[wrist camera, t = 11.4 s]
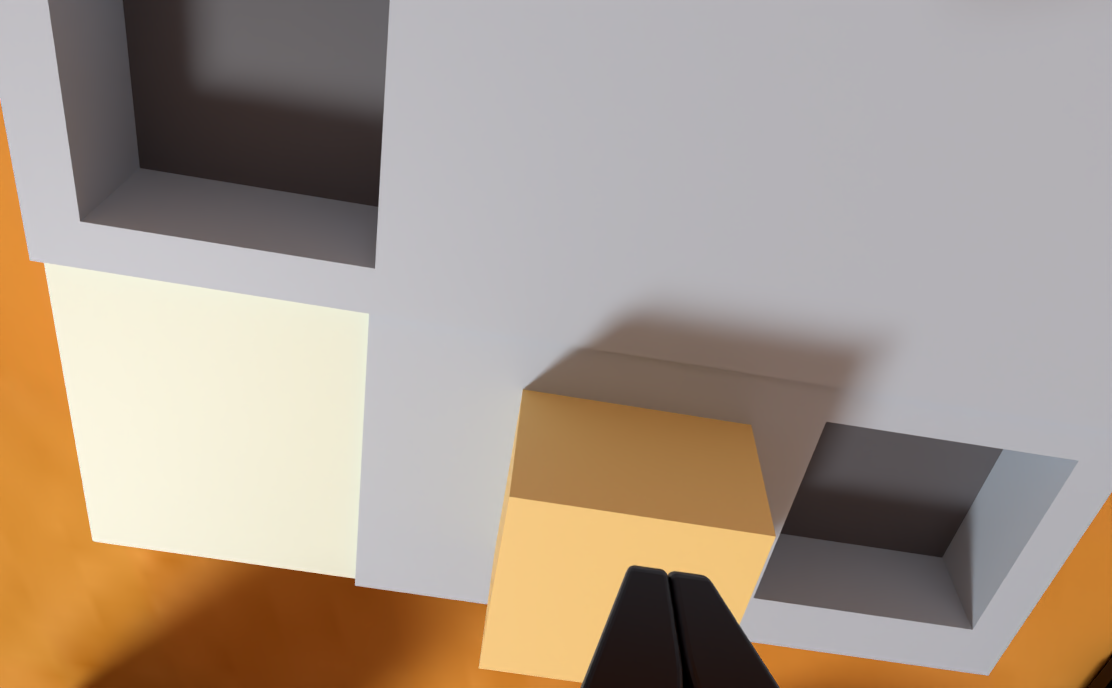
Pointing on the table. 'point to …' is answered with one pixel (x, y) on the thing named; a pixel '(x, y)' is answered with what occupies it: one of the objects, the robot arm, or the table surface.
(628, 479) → the ochre block
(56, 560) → the table surface
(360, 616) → the table surface
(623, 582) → the robot arm
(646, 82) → the trap board
